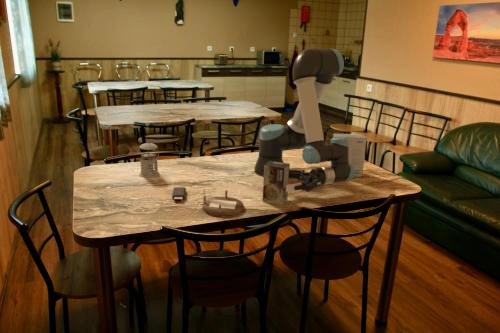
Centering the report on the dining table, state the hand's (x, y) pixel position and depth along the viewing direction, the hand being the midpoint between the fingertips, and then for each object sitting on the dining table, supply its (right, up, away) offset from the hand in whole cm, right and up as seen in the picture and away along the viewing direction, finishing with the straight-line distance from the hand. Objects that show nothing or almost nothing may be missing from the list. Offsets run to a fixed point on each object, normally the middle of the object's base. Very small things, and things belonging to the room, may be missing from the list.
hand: (278, 182), depth 166 cm
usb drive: (-41, -7, +4) cm, 42 cm away
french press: (-59, +3, +28) cm, 65 cm away
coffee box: (-1, -8, +3) cm, 9 cm away
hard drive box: (+37, +3, +40) cm, 54 cm away
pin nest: (-22, -10, -6) cm, 25 cm away
